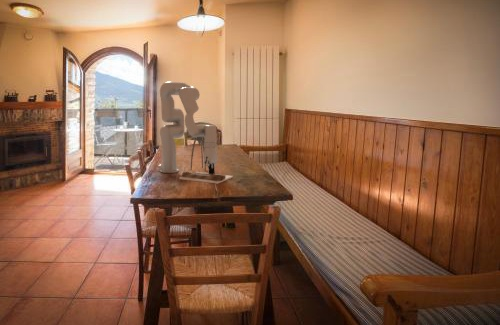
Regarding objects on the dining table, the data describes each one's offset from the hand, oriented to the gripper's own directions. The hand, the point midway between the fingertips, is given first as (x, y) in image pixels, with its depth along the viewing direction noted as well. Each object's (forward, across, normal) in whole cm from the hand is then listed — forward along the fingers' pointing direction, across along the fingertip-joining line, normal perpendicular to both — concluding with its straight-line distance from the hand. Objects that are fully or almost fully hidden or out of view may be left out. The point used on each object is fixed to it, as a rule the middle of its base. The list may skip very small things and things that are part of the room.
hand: (211, 174), depth 231 cm
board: (+3, +1, -3) cm, 4 cm away
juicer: (+2, -24, -22) cm, 32 cm away
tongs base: (+2, +7, -3) cm, 8 cm away
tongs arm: (+1, +3, -1) cm, 3 cm away
